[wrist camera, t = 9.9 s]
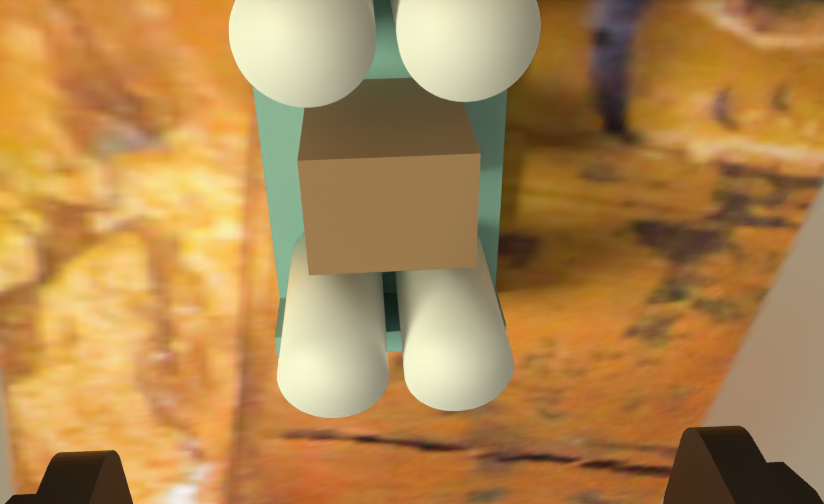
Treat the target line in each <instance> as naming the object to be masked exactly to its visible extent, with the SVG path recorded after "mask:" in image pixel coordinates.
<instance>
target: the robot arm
mask: <svg viewBox="0 0 824 504" xmlns="http://www.w3.org/2000/svg"><path fill="white" fill-rule="evenodd" d="M5 504H133V501H132V498H131V495H130V491H129V488H128V484H127V481H126V477H125V474H124V470H123V467H122V463H121V460H120V457H119V455H118V453H117V452H116V451H114V450H108V451H84V452H61V453H57V454H56V455H55V456H54V457H53V458H52V460H51V461H50V463H49V465H48V467H47V470H46V472H45V474H44V477H43V479H42V481H41V484H40V486H39V489H38V491H37V493H36V494H24V495H13V496H12V497H11V498H10V499H9V500H8V501H7V502H6V503H5ZM663 504H824V503H823V501H822V500H821V498H820V496H819V495H818V493H817V492H816V490H814V489H813V488H812V487H811V486H810V485H809V484H808V483H807V482H805V481H804V480H803V479H802V478H801V477H800V476H798V475H797V474H796V473H795V472H794V471H793V470H792V469H790V468H789V467H788V466H787V465H786V464H785V463H784V462H769V463H767V462H766V460H765V459H764V457H763V455H762V454H761V452H760V450H759V449H758V447H757V445H756V444H755V442H754V440H753V438H752V437H751V435H750V434H749V432H748V431H747V430H746V429H745V428H743V427H741V426H719V427H694V428H687V429H686V430H685V431H684V433H683V434H682V437H681V440H680V444H679V447H678V451H677V454H676V457H675V461H674V464H673V468H672V471H671V475H670V478H669V481H668V485H667V488H666V492H665V496H664V502H663Z"/></svg>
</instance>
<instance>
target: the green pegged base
mask: <svg viewBox="0 0 824 504" xmlns="http://www.w3.org/2000/svg"><path fill="white" fill-rule="evenodd" d="M540 33H541V19H540V11H539V7H538V3H537V1H536V0H236V1H235V3H234V6H233V9H232V12H231V16H230V21H229V40H230V45H231V50H232V53H233V56H234V59H235V61H236V63H237V65H238V67H239V69H240V70H241V72H242V73H243V75H244V76H245V78H246V79H247V80H248V81H249V82H250V83H251V84H252V85H253V91H254V99H255V107H256V115H257V123H258V130H259V138H260V146H261V154H262V162H263V169H264V177H265V185H266V193H267V201H268V208H269V216H270V224H271V232H272V240H273V247H274V255H275V263H276V271H277V279H278V286H279V294H280V303H279V310H278V318H277V325H276V333H275V342H276V349H277V357H278V358H279V363H278V371H277V381H278V386H279V388H280V391H281V392H282V394H283V396H284V397H285V398H286V399H287V401H288V402H290V403H291V404H292V405H293V406H294V407H296V408H297V409H299V410H301V411H303V412H305V413H308V414H310V415H314V416H318V417H324V418H340V417H347V416H351V415H355V414H358V413H360V412H362V411H364V410H366V409H368V408H369V407H371V406H372V405H374V404H375V403H376V402H377V401H378V400H379V399H380V397H381V396H382V395H383V393H384V392H385V389H386V387H387V384H388V378H389V372H388V357H387V352H403V364H404V374H405V381H406V384H407V386H408V388H409V390H410V392H411V393H412V394H413V395H414V396H415V397H416V398H417V399H418V400H419V401H421V402H422V403H424V404H426V405H428V406H430V407H433V408H436V409H440V410H446V411H462V410H468V409H473V408H476V407H479V406H482V405H484V404H486V403H488V402H490V401H491V400H493V399H494V398H496V397H497V396H498V395H499V394H500V393H501V392H502V391H503V390H504V389H505V388H506V386H507V385H508V384H509V382H510V380H511V377H512V374H513V370H514V361H513V356H512V352H511V349H510V345H509V341H508V338H507V334H506V323H505V319H504V315H503V312H502V308H501V305H500V301H499V298H498V294H497V291H496V276H497V259H498V242H499V225H500V208H501V191H502V174H503V157H504V140H505V123H506V106H507V89H508V88H509V87H510V86H511V85H512V84H514V83H515V82H516V81H517V80H518V79H519V78H520V77H521V76H522V75H523V73H524V72H525V71H526V69H527V68H528V67H529V65H530V63H531V61H532V60H533V58H534V55H535V53H536V50H537V47H538V44H539V40H540Z"/></svg>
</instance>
